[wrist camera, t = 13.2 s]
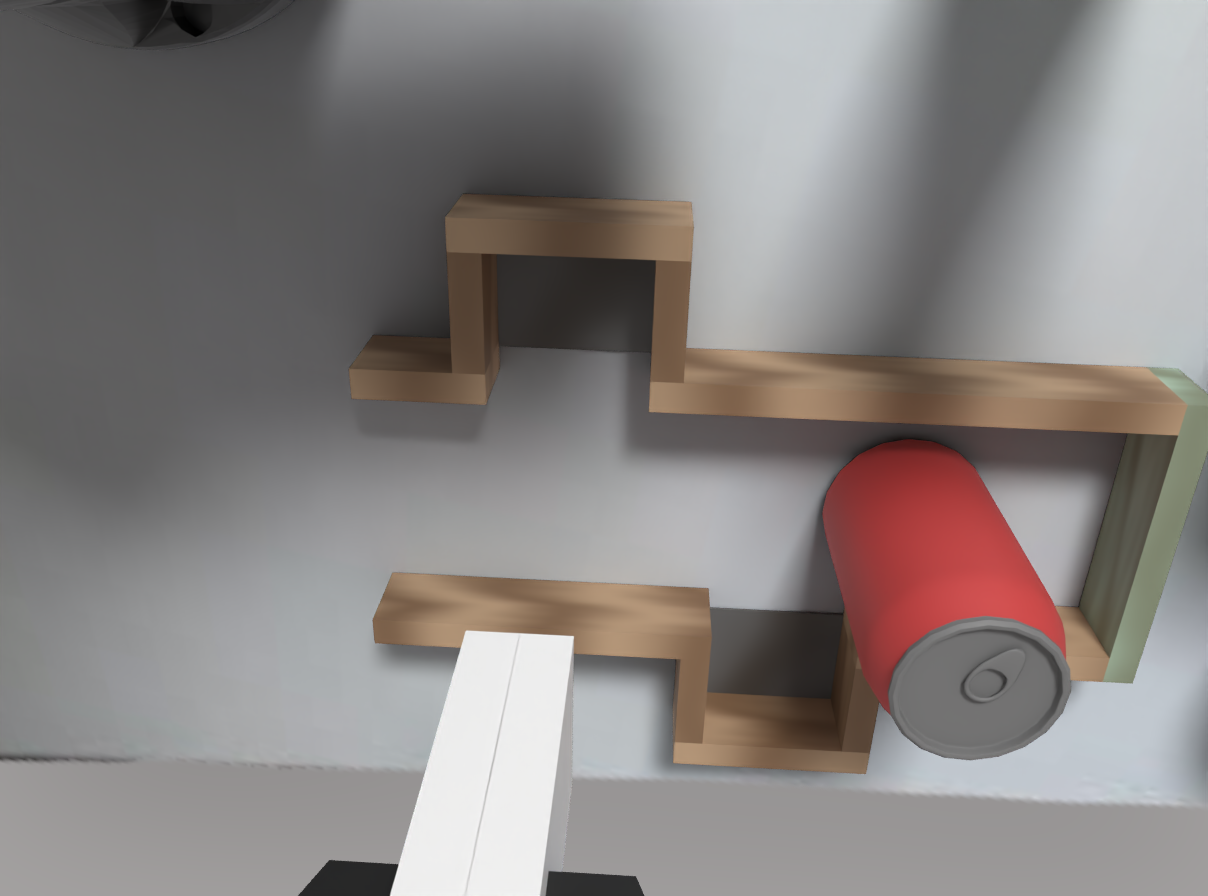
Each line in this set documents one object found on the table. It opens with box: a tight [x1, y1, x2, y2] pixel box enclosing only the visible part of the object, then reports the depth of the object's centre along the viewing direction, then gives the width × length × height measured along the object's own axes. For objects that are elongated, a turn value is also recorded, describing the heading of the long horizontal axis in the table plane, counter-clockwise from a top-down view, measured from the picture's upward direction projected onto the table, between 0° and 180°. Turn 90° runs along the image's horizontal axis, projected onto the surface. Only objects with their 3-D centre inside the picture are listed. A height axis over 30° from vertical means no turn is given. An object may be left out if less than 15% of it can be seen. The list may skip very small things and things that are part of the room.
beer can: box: [822, 439, 1071, 760], centre depth 37 cm, size 7×7×12 cm
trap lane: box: [349, 194, 1208, 774], centre depth 41 cm, size 31×24×4 cm
